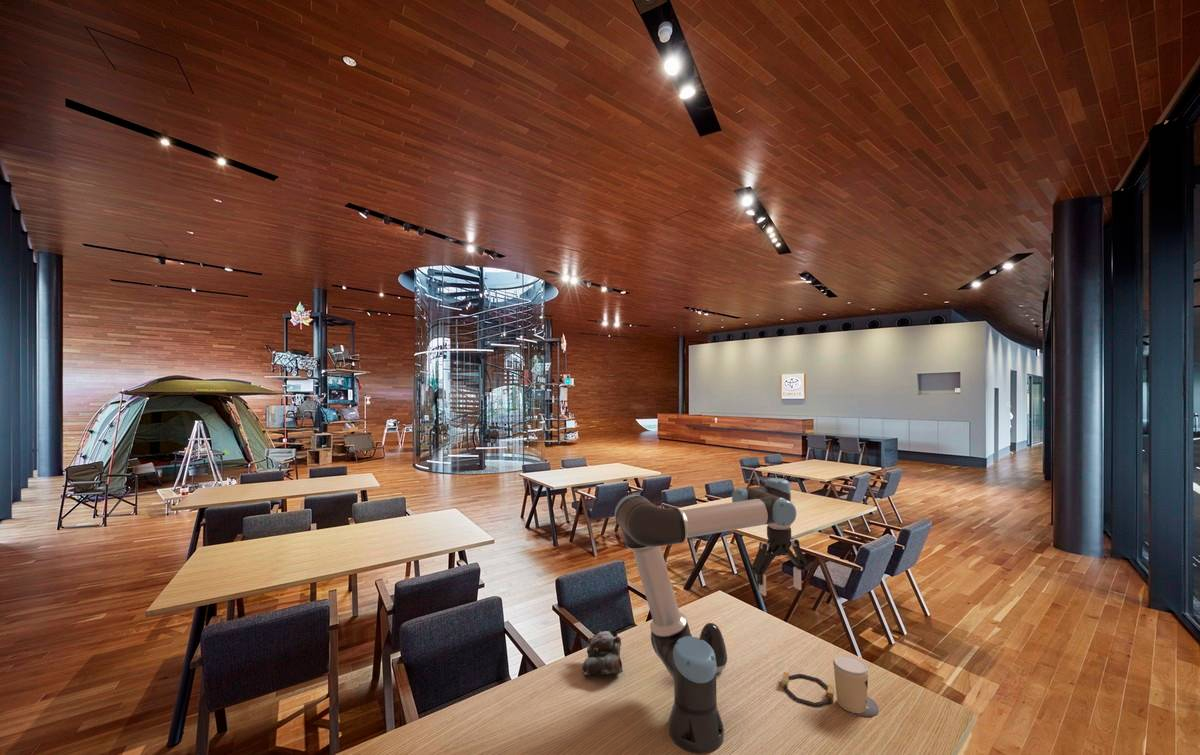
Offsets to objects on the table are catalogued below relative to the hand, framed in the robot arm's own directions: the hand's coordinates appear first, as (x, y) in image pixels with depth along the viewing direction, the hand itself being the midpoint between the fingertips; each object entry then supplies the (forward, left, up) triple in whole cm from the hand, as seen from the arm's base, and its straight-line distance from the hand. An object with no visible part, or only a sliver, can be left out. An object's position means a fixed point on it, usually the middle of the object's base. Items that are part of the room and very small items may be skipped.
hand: (780, 591), depth 150 cm
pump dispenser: (-19, +12, -29) cm, 37 cm away
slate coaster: (+14, -17, -29) cm, 36 cm away
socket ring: (+4, -7, -29) cm, 30 cm away
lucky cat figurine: (-55, +22, -29) cm, 66 cm away
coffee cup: (+11, -17, -28) cm, 35 cm away
